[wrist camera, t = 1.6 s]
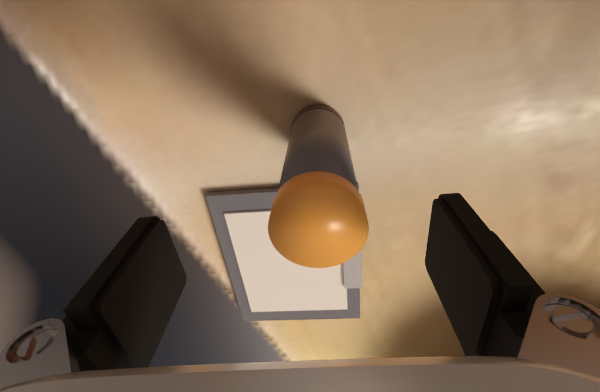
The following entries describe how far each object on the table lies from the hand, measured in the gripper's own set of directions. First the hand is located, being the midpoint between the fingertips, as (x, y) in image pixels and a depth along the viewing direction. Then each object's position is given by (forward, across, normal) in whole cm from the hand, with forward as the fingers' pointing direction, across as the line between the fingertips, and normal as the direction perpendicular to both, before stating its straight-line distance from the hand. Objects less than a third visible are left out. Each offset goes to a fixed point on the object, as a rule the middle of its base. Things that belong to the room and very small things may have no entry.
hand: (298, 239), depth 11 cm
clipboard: (+11, +2, +11) cm, 16 cm away
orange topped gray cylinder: (+11, -1, 0) cm, 11 cm away
